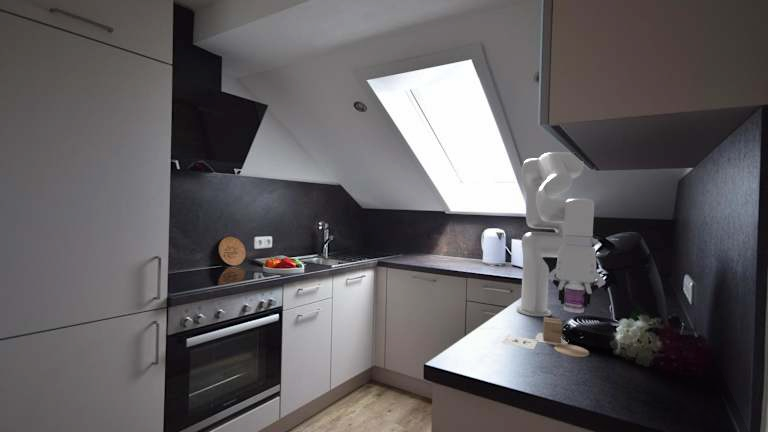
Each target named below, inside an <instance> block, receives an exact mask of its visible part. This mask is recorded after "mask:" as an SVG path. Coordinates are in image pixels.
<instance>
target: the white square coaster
mask: <svg viewBox="0 0 768 432" xmlns="http://www.w3.org/2000/svg"><path fill="white" fill-rule="evenodd" d="M511 335H512V334H507V336H505V338H504V339H503V340H502V342H501V344H504V345H510V346H516V347H521V348H525V349H528V350H534V349H535V347H536V345H537V343H539V342H538V340H535V338H534V339H533V338H527V337H522V336H519V335H513V336H515V337H516V336H517V337H518V338H517V337H516V338H514V337H513V336H512V337H513V339H512V338H511V339H509V338H508V337H510V336H511ZM534 340H535V341H534Z"/></svg>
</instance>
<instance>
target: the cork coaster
mask: <svg viewBox="0 0 768 432" xmlns="http://www.w3.org/2000/svg"><path fill="white" fill-rule="evenodd" d="M553 348H554V350H555V351H556V352H557V353H560V354H562V355H565V356H569V357H575V358H585V357H588V356H590V351H589V350H587V349H586V348H584V347H581V346H578V345H573V344H568V343H567V344H558V345H554V347H553Z"/></svg>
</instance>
